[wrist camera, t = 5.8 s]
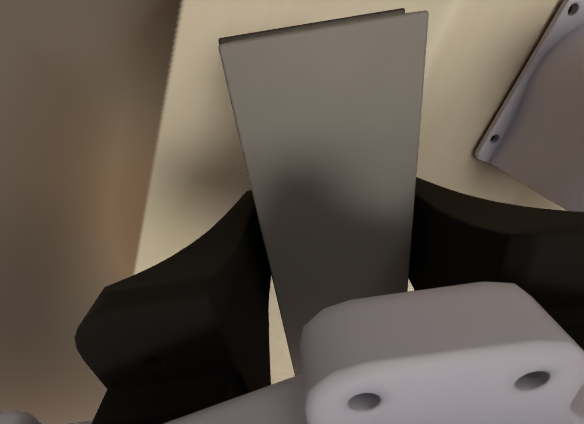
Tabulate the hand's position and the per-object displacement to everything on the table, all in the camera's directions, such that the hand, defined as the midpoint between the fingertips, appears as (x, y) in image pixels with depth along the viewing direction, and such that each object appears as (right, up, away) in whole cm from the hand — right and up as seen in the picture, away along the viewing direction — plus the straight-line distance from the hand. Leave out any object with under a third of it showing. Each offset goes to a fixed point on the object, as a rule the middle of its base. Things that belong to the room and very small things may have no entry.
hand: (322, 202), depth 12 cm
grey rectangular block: (0, +1, +1) cm, 1 cm away
